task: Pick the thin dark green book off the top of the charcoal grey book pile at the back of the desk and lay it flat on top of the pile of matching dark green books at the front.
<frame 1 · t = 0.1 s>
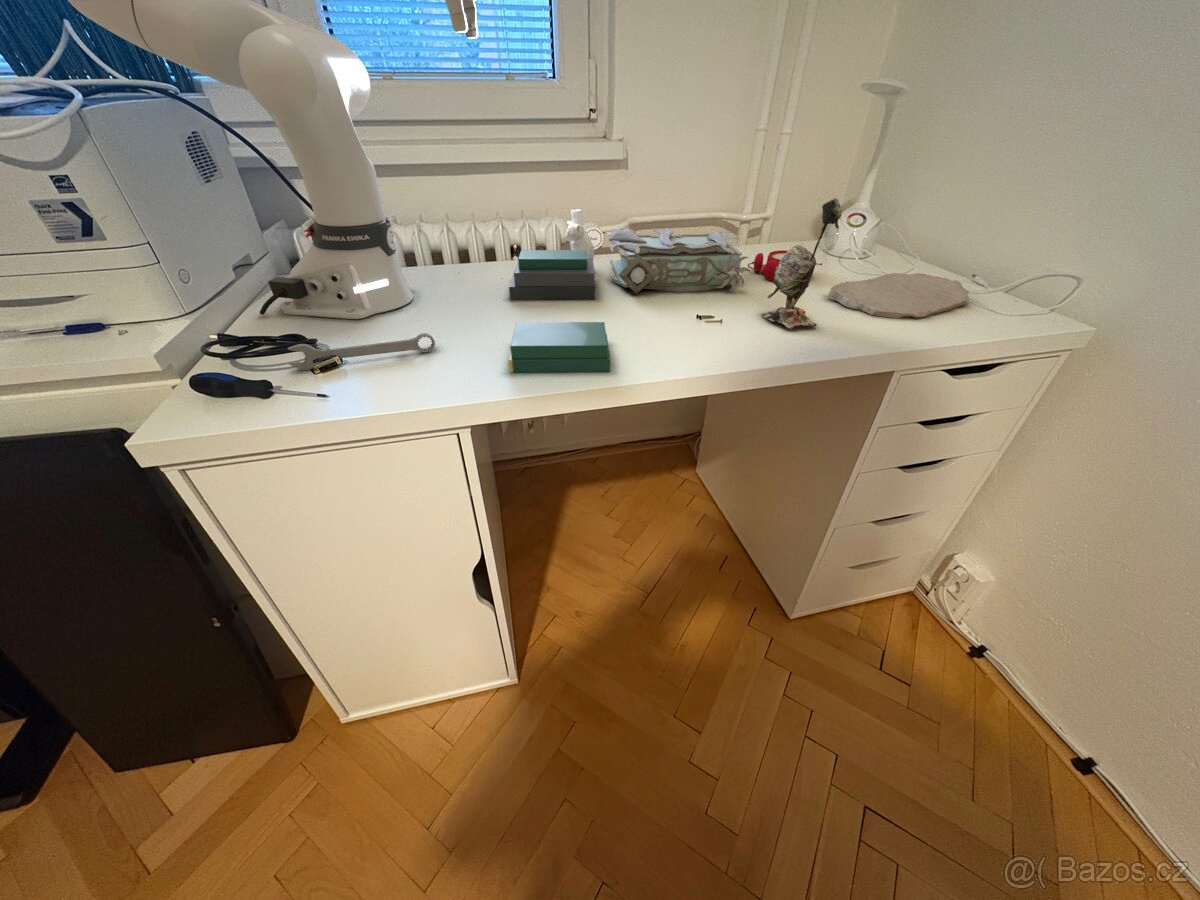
hand: (467, 35, 69), 39 cm above the table, tool pointing down, fingers open, 8 cm apart
green books: (562, 358, 73), on the table
combination wrench: (367, 361, 72), on the table
green book: (553, 265, 95), point 5 cm above the table, touching grey books
plant with pod: (784, 320, 87), on the table
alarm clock: (778, 276, 108), on the table
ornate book: (674, 279, 105), on the table
grey books: (554, 290, 98), on the table
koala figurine: (578, 269, 110), on the table
stone tablet: (904, 300, 96), on the table
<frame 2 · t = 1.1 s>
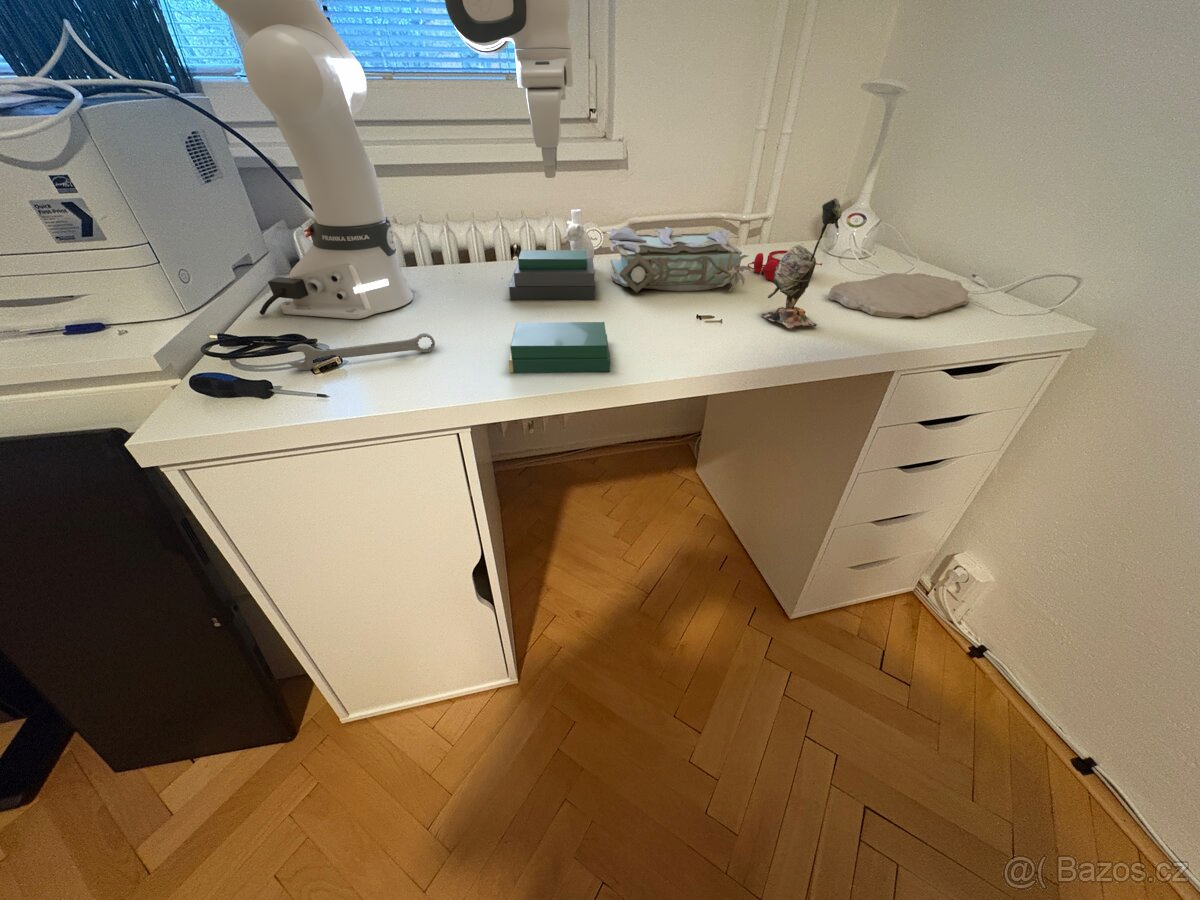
hand: (551, 173, 85), 21 cm above the table, tool pointing down, fingers open, 8 cm apart
nothing on the table moved.
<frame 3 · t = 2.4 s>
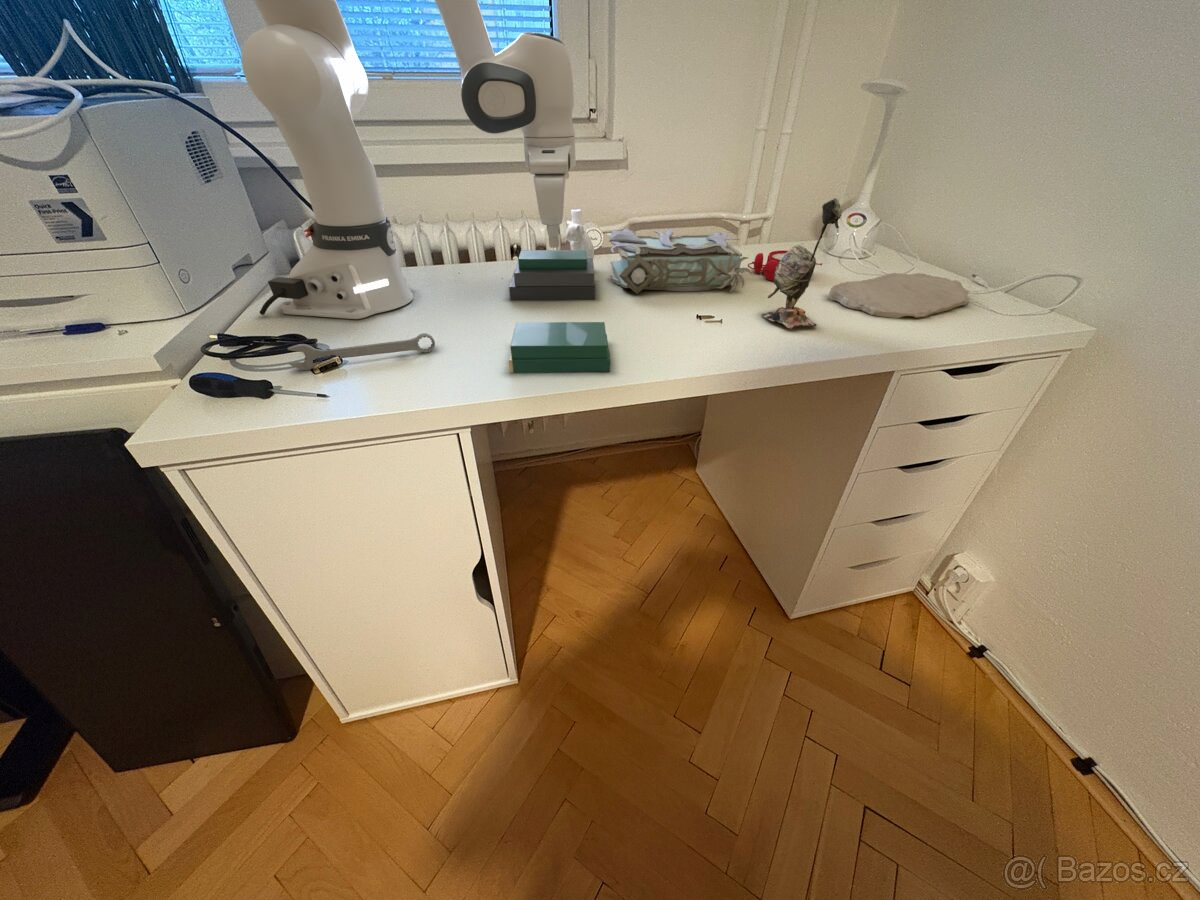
hand: (555, 240, 92), 10 cm above the table, tool pointing down, fingers open, 8 cm apart
nothing on the table moved.
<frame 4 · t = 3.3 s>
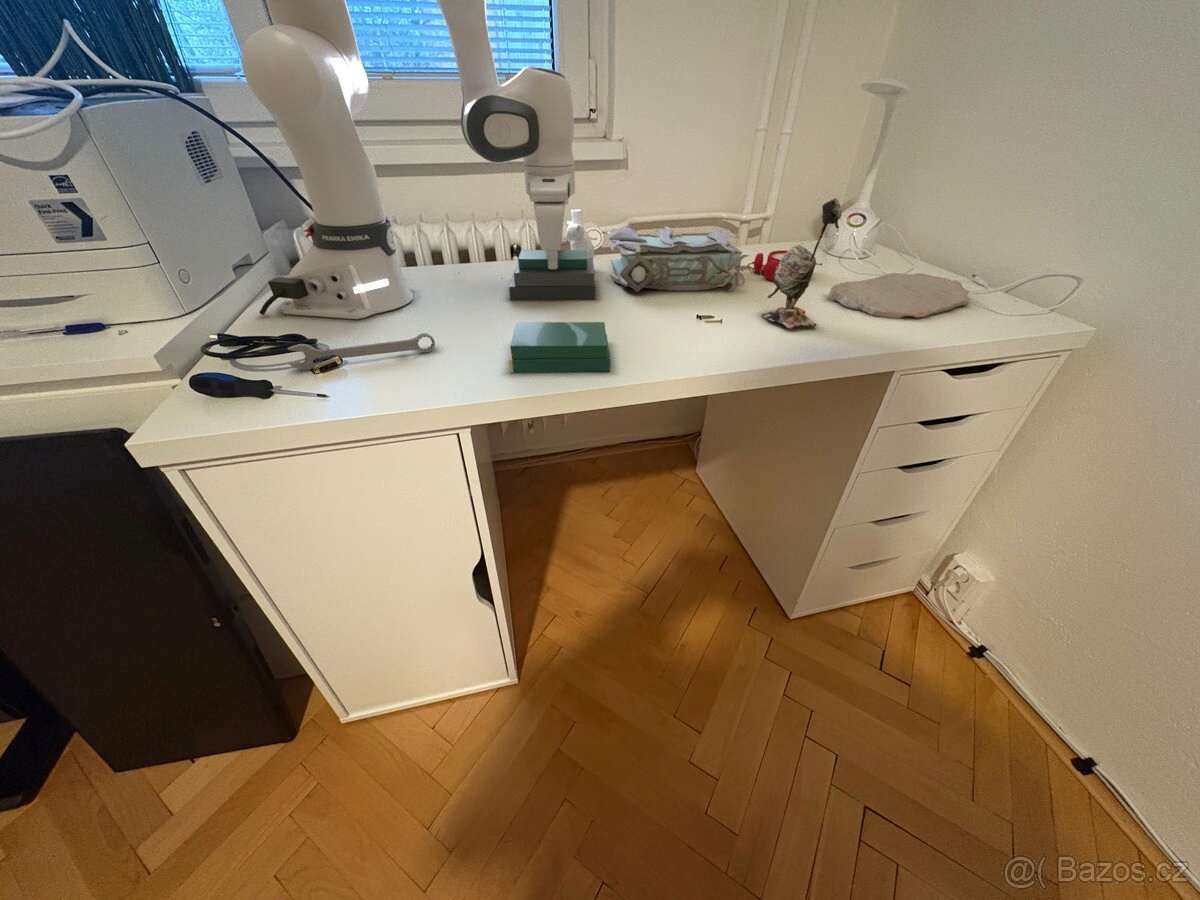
hand: (553, 262, 94), 5 cm above the table, tool pointing down, fingers closed on green book, 6 cm apart
green book: (553, 265, 95), point 5 cm above the table, touching grey books, gripper
everything else where it was.
when the fingers open (4 cm above the table, at t = 10.7 s): green book stays where it is, resting on green books.
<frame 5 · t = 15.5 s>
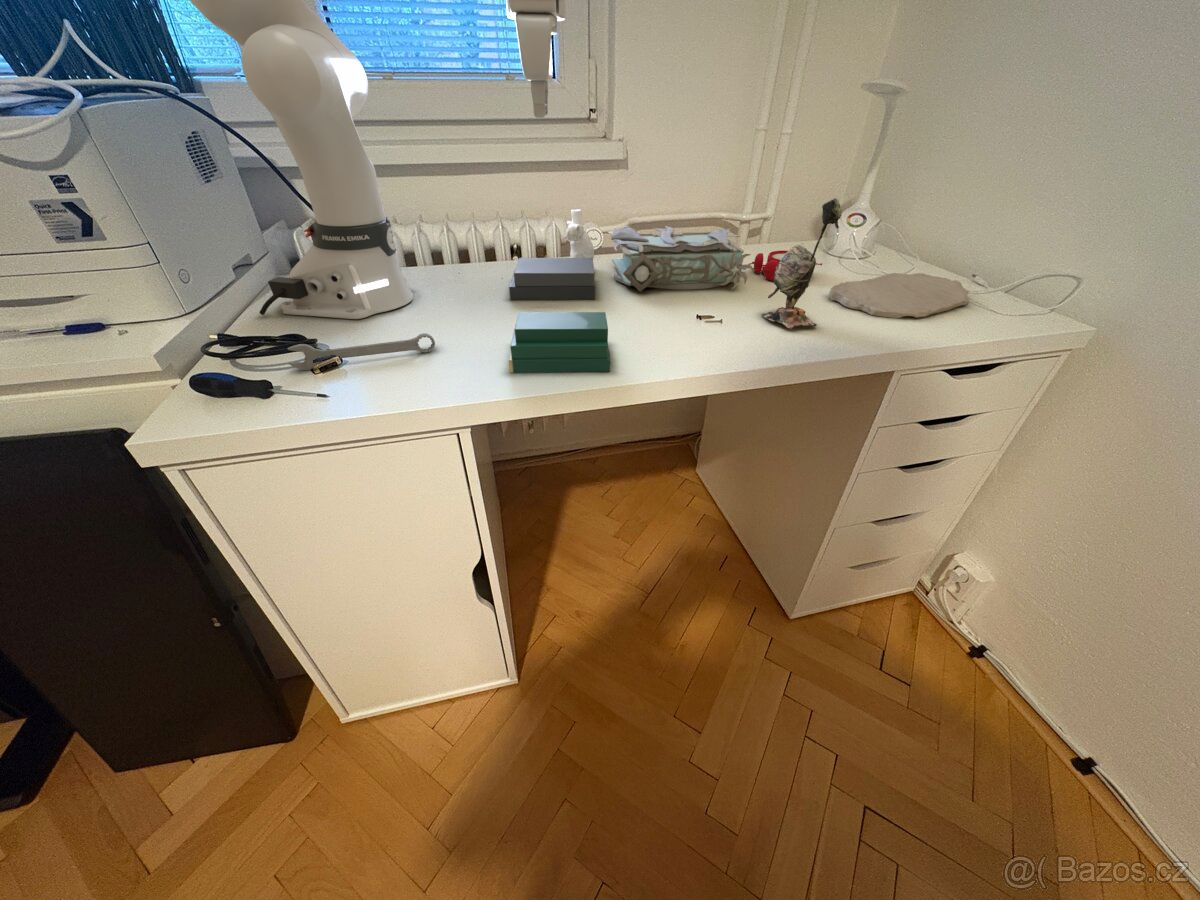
hand: (541, 116, 80), 29 cm above the table, tool pointing down, fingers open, 8 cm apart
green book: (562, 333, 71), point 4 cm above the table, touching green books
at the end: green book 0.2 cm off-centre on the green books, point 4.0 cm above the green books's base; green book tilted 0° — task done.
